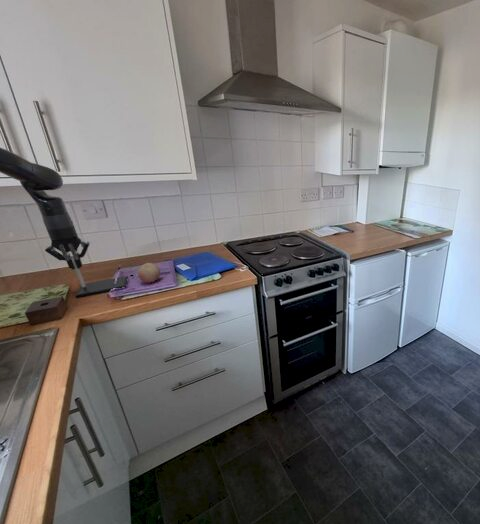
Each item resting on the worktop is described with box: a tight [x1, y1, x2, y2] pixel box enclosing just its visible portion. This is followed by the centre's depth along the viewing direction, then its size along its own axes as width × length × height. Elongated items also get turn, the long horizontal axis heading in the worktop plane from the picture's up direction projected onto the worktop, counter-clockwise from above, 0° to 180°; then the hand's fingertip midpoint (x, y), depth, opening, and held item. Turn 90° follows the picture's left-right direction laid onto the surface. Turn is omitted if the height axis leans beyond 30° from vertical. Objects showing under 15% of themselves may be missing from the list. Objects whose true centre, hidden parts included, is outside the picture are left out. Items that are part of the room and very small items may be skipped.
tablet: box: [75, 275, 129, 299], centre depth 124 cm, size 16×11×1 cm
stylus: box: [70, 255, 86, 289], centre depth 118 cm, size 1×1×14 cm
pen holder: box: [24, 295, 69, 326], centre depth 104 cm, size 8×8×5 cm
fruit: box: [137, 262, 161, 284], centre depth 128 cm, size 8×8×8 cm
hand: (76, 268), depth 117 cm, fingers closed on stylus, 1 cm apart
